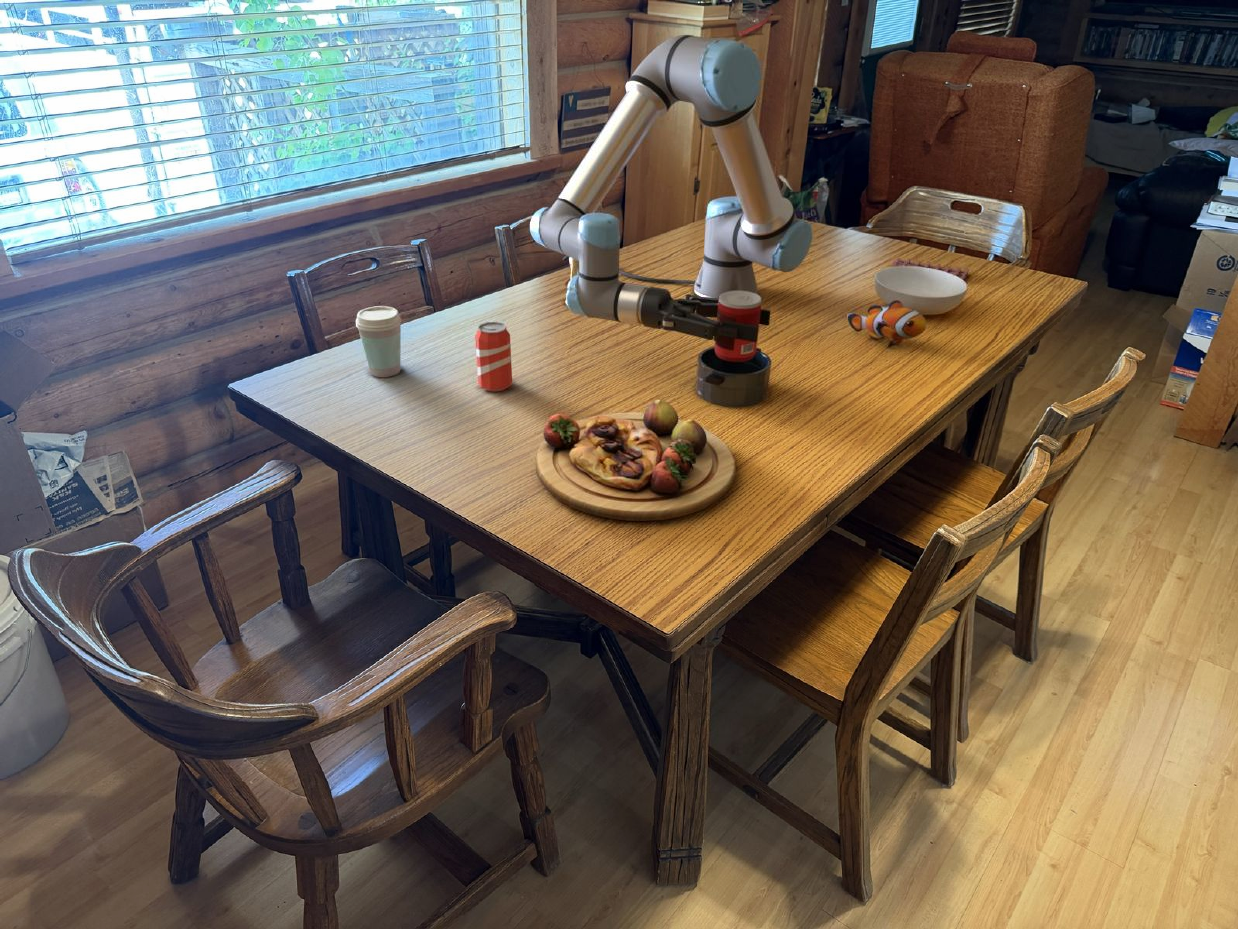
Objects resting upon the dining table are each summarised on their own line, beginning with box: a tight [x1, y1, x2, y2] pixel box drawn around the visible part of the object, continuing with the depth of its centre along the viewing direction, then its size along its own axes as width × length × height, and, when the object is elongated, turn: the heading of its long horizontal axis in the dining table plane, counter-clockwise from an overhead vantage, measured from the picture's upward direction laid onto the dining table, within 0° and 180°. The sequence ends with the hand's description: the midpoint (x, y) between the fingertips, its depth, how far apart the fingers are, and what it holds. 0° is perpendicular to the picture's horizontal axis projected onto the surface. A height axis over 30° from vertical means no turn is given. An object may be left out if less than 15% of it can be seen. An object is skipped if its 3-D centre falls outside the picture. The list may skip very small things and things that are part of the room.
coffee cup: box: [355, 305, 403, 378], centre depth 168 cm, size 8×8×12 cm
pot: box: [695, 345, 773, 408], centre depth 165 cm, size 14×14×6 cm
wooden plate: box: [535, 399, 737, 522], centre depth 139 cm, size 32×32×8 cm
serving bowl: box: [873, 266, 969, 316], centre depth 205 cm, size 21×21×7 cm
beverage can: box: [474, 321, 513, 393], centre depth 163 cm, size 6×6×12 cm
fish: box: [846, 300, 927, 349], centre depth 186 cm, size 10×18×10 cm, turn 44°
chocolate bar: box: [890, 257, 970, 281], centre depth 229 cm, size 7×19×2 cm, turn 61°
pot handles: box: [705, 347, 762, 386], centre depth 164 cm, size 3×18×1 cm, turn 147°
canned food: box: [714, 291, 763, 362], centre depth 160 cm, size 8×8×11 cm
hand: (763, 325), depth 158 cm, fingers closed on canned food, 8 cm apart
